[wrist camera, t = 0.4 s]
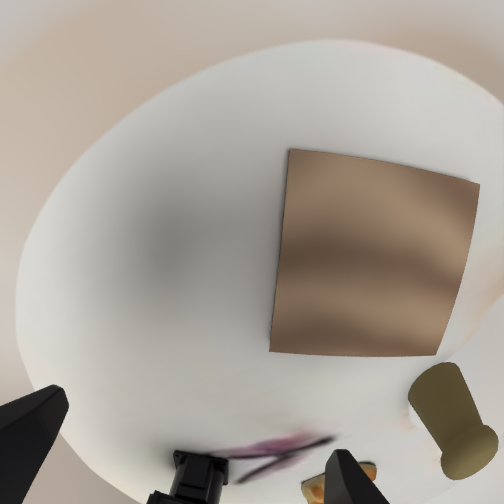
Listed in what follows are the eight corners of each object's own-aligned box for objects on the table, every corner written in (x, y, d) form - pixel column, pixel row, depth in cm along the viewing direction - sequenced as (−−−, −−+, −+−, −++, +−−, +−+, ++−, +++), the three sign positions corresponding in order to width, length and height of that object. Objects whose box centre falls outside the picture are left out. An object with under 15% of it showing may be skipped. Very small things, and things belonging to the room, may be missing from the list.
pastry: (359, 453, 27) (364, 478, 23) (384, 467, 28) (390, 489, 24) (296, 481, 29) (296, 505, 26) (326, 494, 30) (328, 515, 27)
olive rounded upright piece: (419, 415, 24) (451, 494, 14) (398, 389, 23) (434, 481, 13) (465, 381, 23) (510, 454, 12) (450, 351, 22) (505, 432, 11)
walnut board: (428, 345, 22) (435, 355, 20) (270, 340, 23) (269, 351, 21) (469, 182, 18) (480, 184, 16) (289, 149, 18) (290, 148, 17)
